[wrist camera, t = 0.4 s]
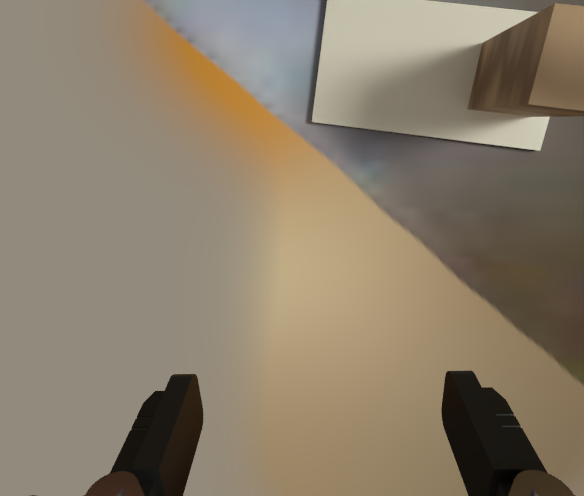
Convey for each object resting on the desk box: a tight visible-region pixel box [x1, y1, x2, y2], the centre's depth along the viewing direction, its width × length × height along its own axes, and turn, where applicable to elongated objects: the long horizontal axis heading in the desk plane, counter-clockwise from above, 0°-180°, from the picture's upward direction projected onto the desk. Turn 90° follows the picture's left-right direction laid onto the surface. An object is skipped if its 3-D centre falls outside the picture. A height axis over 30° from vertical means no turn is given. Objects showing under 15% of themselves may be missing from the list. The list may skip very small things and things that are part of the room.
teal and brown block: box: [467, 3, 584, 117], centre depth 29 cm, size 5×5×12 cm
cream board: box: [312, 0, 550, 151], centre depth 35 cm, size 10×19×1 cm, turn 83°
